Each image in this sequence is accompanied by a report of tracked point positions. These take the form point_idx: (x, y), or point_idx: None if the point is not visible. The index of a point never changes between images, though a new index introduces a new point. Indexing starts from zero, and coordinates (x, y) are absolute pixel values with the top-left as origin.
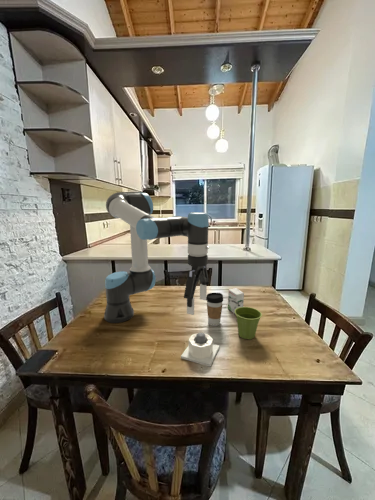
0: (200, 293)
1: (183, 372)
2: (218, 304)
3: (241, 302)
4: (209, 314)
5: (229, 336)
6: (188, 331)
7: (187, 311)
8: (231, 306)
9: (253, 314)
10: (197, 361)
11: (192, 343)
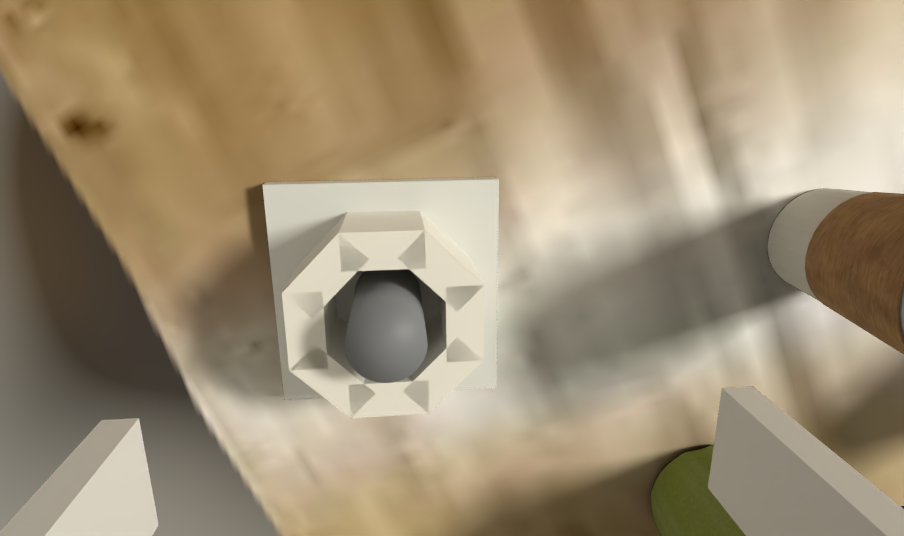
0: (797, 470)
1: (147, 261)
2: None
3: None
4: (843, 233)
5: (652, 399)
6: (620, 81)
7: (80, 459)
8: None
9: None
10: (277, 311)
11: (302, 286)
